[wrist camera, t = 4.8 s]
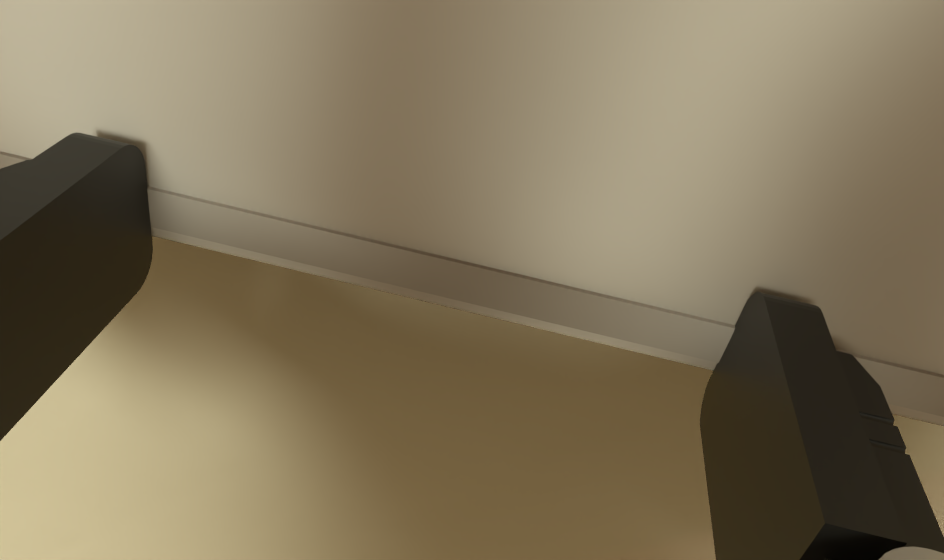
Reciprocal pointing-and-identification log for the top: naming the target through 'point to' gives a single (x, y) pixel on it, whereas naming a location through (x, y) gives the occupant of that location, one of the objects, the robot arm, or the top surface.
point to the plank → (535, 154)
